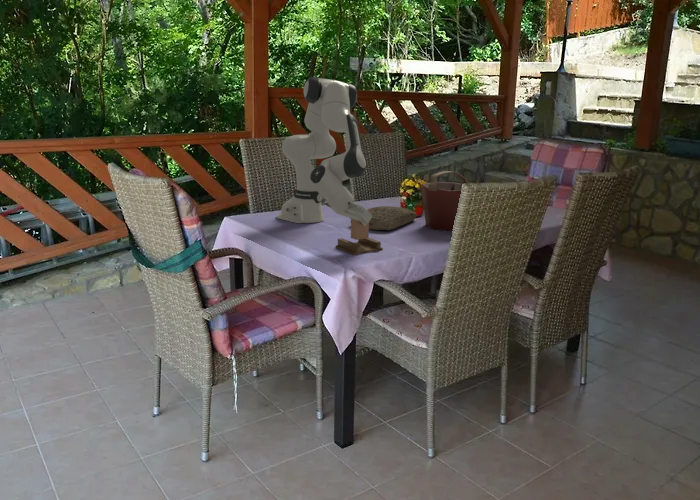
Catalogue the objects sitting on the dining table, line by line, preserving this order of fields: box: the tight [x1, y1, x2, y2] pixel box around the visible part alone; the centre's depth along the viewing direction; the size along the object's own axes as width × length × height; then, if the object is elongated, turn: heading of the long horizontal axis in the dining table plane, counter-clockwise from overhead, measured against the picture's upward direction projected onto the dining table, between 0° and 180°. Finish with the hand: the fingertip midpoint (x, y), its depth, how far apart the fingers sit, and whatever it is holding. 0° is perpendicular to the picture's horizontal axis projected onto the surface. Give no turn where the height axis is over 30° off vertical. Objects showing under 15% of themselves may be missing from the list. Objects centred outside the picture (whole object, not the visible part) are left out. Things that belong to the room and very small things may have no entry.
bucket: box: [421, 170, 469, 232], centre depth 285 cm, size 24×22×25 cm
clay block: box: [350, 208, 370, 241], centre depth 245 cm, size 6×4×11 cm, turn 126°
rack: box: [335, 236, 383, 256], centre depth 247 cm, size 14×12×3 cm
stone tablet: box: [366, 205, 417, 231], centre depth 289 cm, size 20×8×30 cm
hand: (361, 223), depth 245 cm, fingers closed on clay block, 3 cm apart
